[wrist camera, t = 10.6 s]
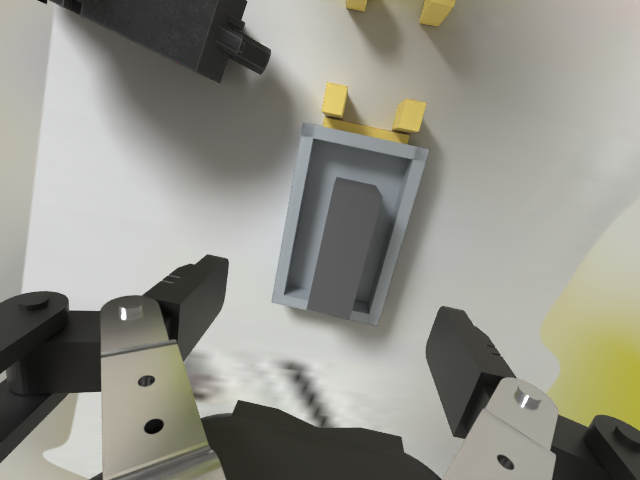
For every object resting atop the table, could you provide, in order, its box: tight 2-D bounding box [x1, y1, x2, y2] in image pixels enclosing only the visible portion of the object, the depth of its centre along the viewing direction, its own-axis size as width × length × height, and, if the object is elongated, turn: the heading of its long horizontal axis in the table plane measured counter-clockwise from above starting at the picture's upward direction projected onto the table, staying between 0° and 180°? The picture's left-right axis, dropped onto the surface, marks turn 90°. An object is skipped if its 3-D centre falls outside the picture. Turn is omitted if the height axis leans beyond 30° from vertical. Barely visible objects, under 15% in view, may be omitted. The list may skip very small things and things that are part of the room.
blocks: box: [322, 0, 456, 144], centre depth 24 cm, size 14×7×4 cm, turn 168°
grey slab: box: [306, 177, 383, 320], centre depth 27 cm, size 11×4×6 cm, turn 168°
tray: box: [271, 122, 429, 326], centre depth 29 cm, size 16×10×3 cm, turn 168°
